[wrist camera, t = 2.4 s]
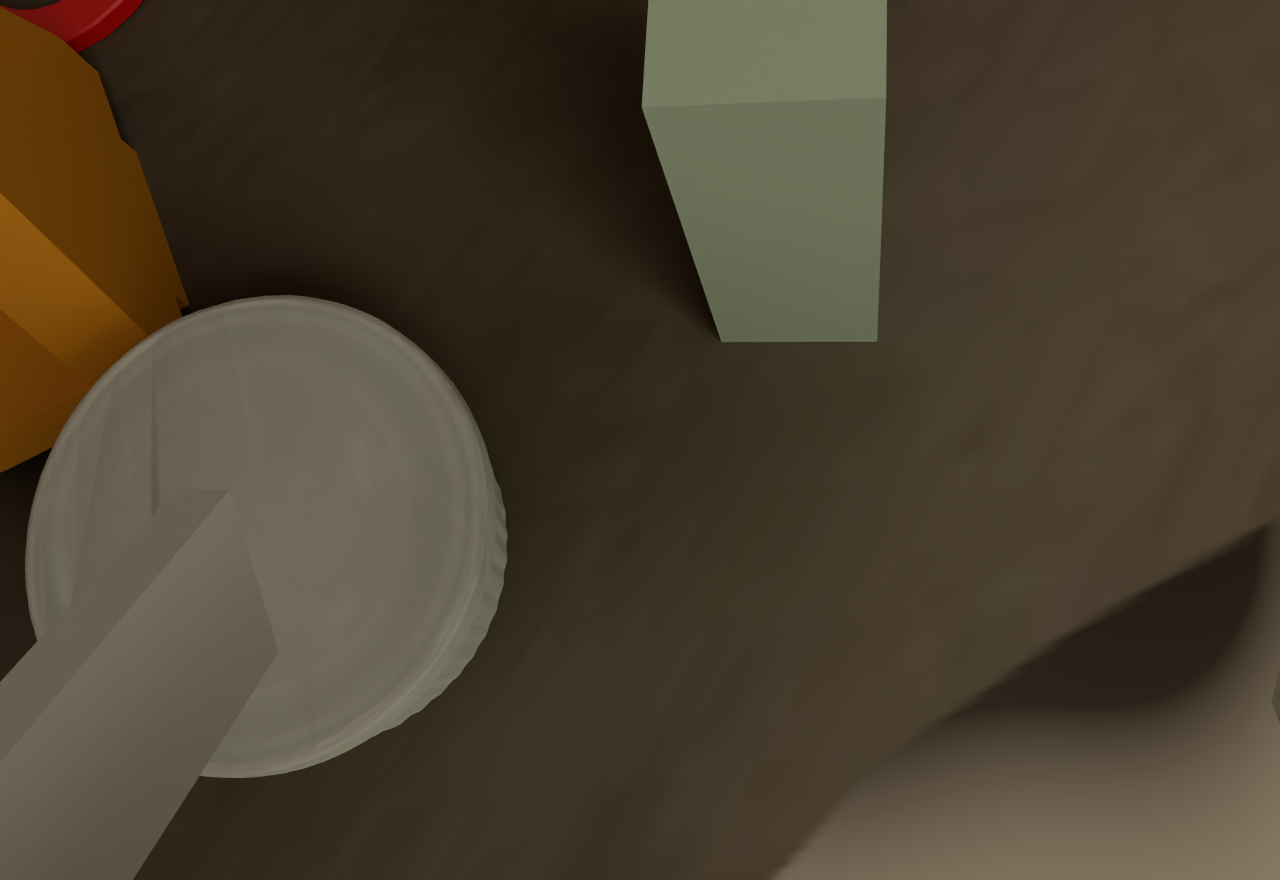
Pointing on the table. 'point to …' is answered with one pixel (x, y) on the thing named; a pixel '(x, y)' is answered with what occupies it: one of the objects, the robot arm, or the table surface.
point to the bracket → (68, 240)
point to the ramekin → (293, 509)
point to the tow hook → (80, 19)
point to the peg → (775, 158)
